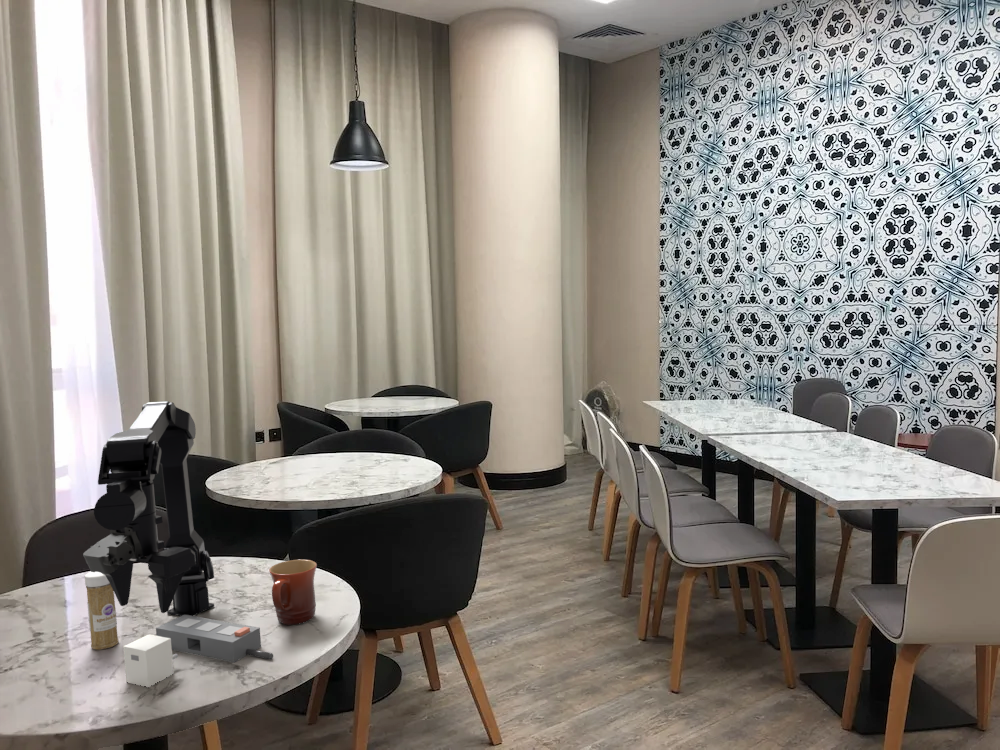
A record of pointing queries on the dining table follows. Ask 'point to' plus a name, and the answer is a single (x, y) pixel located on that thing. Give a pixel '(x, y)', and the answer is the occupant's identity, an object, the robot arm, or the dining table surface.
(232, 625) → the power strip
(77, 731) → the dining table surface
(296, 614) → the mug
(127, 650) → the block
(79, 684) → the dining table surface
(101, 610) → the sprinkles bottle
